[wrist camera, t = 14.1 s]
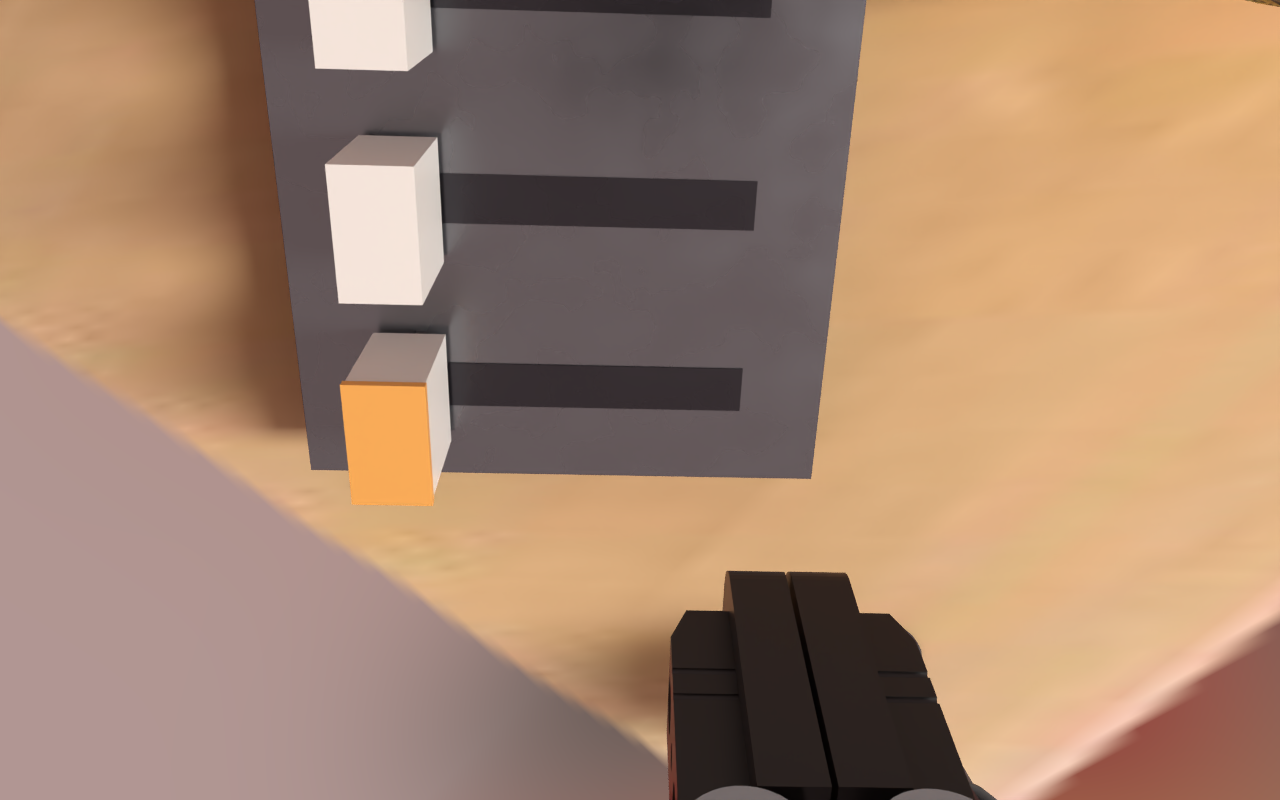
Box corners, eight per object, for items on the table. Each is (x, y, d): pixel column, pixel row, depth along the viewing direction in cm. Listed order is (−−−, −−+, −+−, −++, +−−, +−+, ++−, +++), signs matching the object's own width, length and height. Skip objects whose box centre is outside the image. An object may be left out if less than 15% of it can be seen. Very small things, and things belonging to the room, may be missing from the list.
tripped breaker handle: (446, 332, 35) (425, 386, 31) (452, 441, 36) (432, 505, 32) (371, 331, 35) (339, 385, 31) (380, 440, 36) (352, 504, 32)
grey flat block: (860, -138, 32) (883, -142, 29) (798, 440, 40) (811, 479, 38) (268, -158, 31) (233, -165, 29) (332, 431, 40) (310, 470, 37)
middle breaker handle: (437, 137, 32) (413, 166, 28) (443, 262, 34) (422, 305, 30) (358, 135, 32) (324, 164, 28) (369, 260, 33) (338, 303, 30)
